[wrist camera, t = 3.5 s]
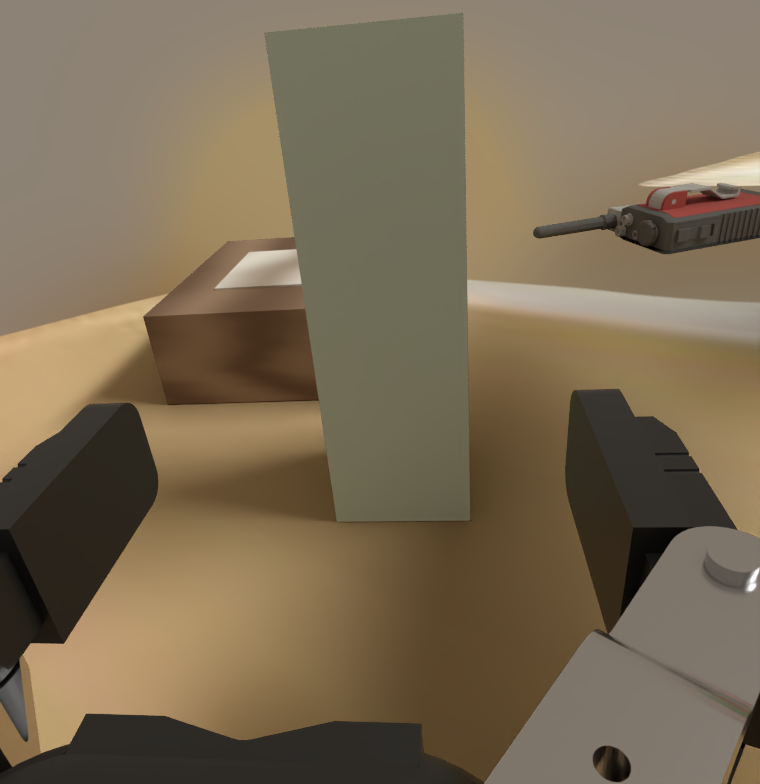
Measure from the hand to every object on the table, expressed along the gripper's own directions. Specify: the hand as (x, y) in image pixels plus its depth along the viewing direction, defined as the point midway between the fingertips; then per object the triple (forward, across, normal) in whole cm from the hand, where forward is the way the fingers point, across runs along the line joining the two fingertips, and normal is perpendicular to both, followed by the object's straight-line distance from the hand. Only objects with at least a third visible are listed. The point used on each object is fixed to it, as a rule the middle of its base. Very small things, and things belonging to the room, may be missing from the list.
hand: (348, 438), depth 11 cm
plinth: (+25, +7, +9) cm, 27 cm away
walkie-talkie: (+45, -20, +10) cm, 50 cm away
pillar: (+11, 0, +9) cm, 14 cm away
